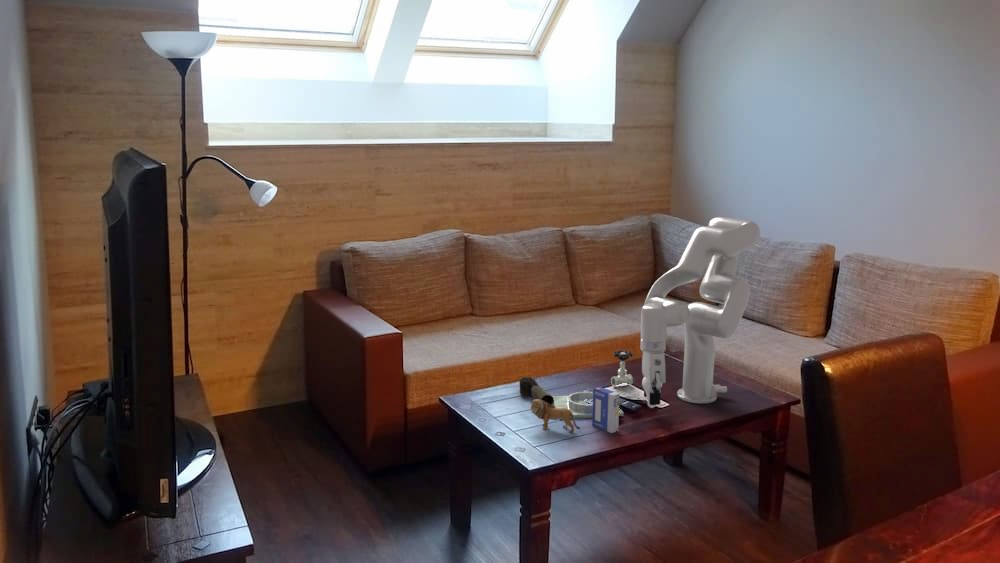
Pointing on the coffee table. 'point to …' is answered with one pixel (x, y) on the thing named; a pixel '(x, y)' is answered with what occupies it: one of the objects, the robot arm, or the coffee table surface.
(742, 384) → the coffee table surface
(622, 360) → the valve
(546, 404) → the lion figurine
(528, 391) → the brown camo elongated piece
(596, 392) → the walkman
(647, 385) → the lightbulb
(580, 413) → the duct collar
